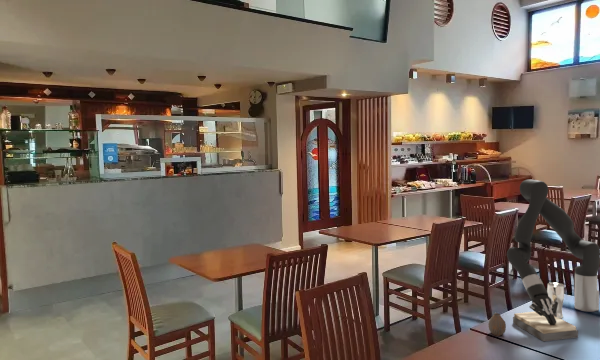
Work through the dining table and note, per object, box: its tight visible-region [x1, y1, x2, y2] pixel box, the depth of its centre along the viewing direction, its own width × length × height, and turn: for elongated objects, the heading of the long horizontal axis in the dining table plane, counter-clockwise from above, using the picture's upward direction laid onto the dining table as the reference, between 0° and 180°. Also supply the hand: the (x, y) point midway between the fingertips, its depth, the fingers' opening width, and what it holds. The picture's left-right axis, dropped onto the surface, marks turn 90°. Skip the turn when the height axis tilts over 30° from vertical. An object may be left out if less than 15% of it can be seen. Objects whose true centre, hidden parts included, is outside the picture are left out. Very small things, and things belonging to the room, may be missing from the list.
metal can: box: [546, 282, 565, 319], centre depth 213 cm, size 7×7×15 cm
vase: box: [488, 312, 507, 337], centre depth 196 cm, size 7×7×9 cm
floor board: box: [512, 311, 579, 342], centre depth 198 cm, size 20×16×4 cm
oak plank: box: [529, 318, 577, 334], centre depth 194 cm, size 10×15×2 cm, turn 100°
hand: (553, 324), depth 192 cm, fingers closed
